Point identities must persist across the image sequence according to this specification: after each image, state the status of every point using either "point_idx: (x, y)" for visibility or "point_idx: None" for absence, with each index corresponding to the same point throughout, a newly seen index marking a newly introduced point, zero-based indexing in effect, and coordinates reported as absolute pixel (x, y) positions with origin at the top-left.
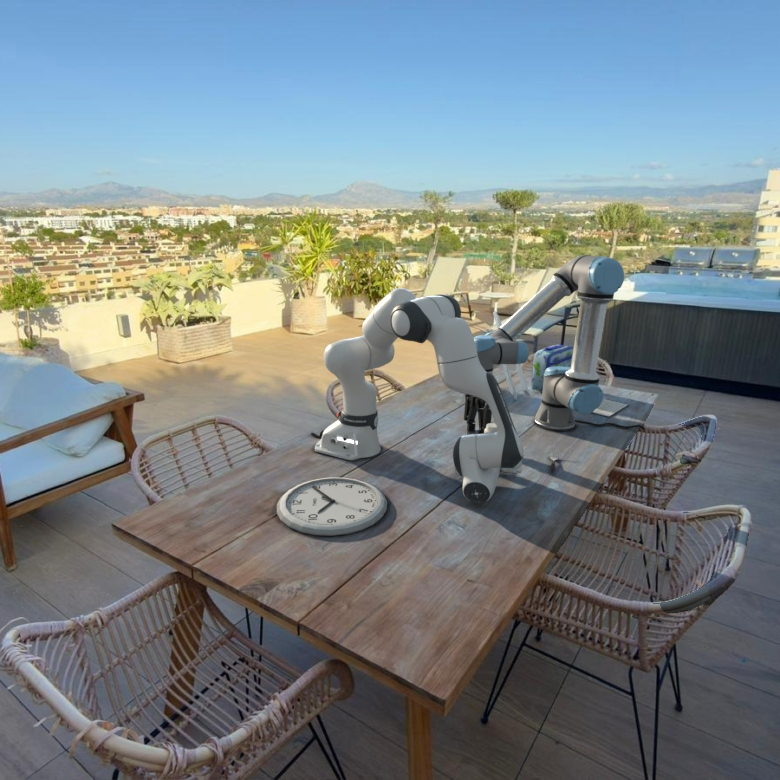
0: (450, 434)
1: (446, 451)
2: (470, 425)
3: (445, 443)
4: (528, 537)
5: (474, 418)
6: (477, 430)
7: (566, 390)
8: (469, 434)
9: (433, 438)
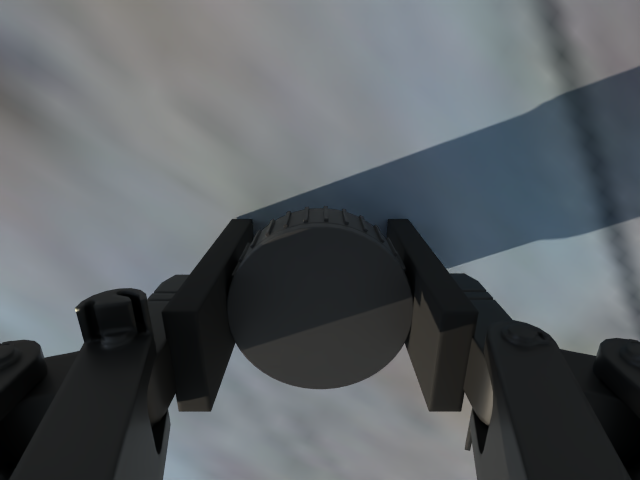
0: (50, 316)
1: (342, 475)
2: (210, 385)
3: (217, 426)
4: None
5: (138, 406)
6: (256, 253)
7: None
8: (318, 383)
9: None
